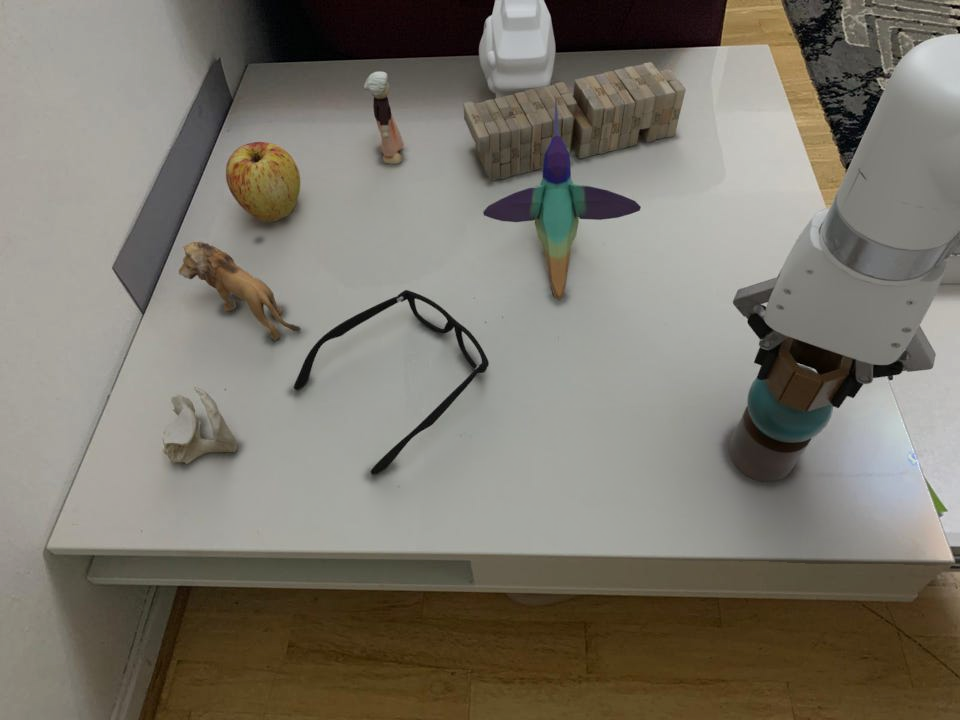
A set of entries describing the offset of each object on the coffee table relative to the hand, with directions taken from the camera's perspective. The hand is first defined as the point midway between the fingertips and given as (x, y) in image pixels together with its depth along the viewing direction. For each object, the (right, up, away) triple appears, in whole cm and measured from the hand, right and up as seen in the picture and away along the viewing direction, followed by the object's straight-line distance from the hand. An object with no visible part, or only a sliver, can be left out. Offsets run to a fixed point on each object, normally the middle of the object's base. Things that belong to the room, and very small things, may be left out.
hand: (801, 379), depth 63 cm
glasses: (-37, -1, +18) cm, 41 cm away
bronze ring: (0, 0, 0) cm, 1 cm away
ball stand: (+1, -8, +11) cm, 13 cm away
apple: (-56, +22, +36) cm, 70 cm away
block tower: (-15, +32, +41) cm, 54 cm away
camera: (-22, +42, +48) cm, 67 cm away
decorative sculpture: (-18, +16, +29) cm, 38 cm away
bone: (-58, -8, +15) cm, 60 cm away
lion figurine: (-56, +7, +25) cm, 62 cm away
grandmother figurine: (-41, +32, +42) cm, 66 cm away
